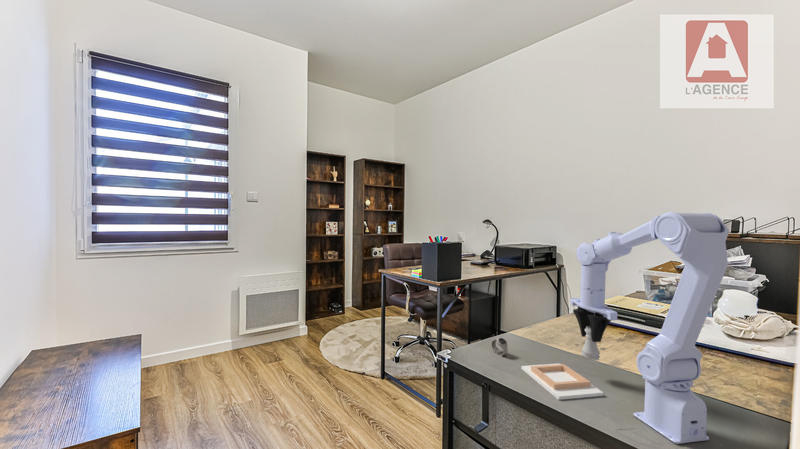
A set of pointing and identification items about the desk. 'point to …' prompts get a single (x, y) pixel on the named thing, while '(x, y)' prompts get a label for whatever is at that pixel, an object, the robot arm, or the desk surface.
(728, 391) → the desk surface
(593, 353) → the rook chess piece
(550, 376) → the socket holder
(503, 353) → the wristwatch
